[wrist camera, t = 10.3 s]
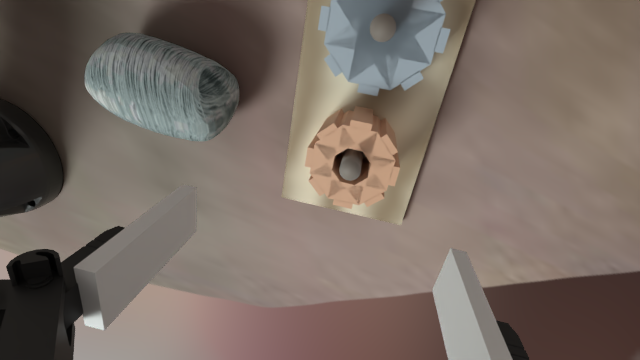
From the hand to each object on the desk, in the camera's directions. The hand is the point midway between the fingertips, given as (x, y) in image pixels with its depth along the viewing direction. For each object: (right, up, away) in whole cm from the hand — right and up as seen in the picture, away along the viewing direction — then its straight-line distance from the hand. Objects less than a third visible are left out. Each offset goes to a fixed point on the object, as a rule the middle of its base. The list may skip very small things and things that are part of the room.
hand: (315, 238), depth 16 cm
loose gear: (+4, +6, +17) cm, 18 cm away
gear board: (+5, +10, +16) cm, 20 cm away
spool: (-14, +13, +18) cm, 27 cm away
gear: (+6, +16, +12) cm, 21 cm away
